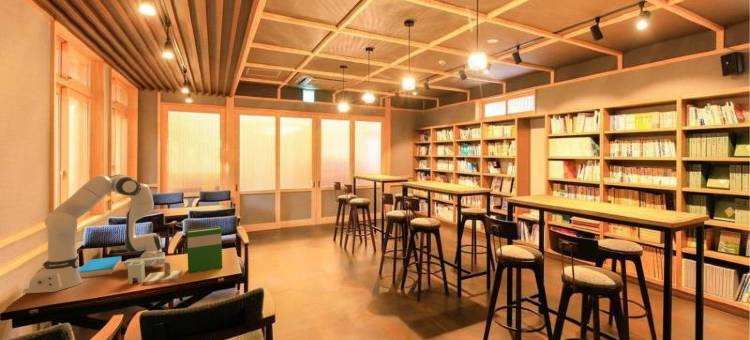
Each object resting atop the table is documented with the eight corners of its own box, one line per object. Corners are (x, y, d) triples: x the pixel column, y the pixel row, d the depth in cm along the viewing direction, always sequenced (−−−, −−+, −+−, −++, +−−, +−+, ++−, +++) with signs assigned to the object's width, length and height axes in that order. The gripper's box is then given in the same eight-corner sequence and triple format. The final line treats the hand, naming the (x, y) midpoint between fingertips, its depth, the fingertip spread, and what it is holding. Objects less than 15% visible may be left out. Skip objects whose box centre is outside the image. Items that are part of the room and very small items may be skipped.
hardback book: (189, 273, 194) (187, 232, 192) (188, 270, 200) (186, 230, 199) (222, 268, 203) (221, 228, 202) (220, 264, 209) (219, 226, 208)
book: (121, 255, 217) (112, 267, 195) (122, 262, 217) (112, 274, 195) (87, 259, 210) (73, 271, 187) (88, 266, 210) (74, 279, 187)
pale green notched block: (128, 284, 179) (127, 265, 178) (132, 280, 184) (131, 262, 184) (141, 282, 181) (140, 264, 180) (145, 278, 187) (144, 260, 186)
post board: (142, 284, 178) (142, 269, 177) (150, 275, 191) (149, 261, 190) (177, 280, 183) (176, 265, 183) (182, 272, 196) (181, 257, 196)
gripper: (127, 255, 201) (119, 262, 188) (167, 251, 208) (162, 258, 195) (128, 265, 201) (120, 273, 188) (167, 261, 208) (162, 269, 195)
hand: (141, 265), depth 192 cm, fingers open, 8 cm apart
